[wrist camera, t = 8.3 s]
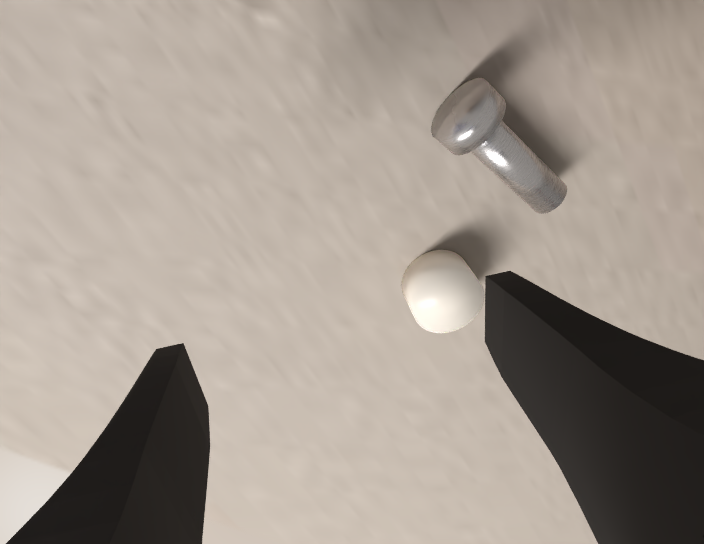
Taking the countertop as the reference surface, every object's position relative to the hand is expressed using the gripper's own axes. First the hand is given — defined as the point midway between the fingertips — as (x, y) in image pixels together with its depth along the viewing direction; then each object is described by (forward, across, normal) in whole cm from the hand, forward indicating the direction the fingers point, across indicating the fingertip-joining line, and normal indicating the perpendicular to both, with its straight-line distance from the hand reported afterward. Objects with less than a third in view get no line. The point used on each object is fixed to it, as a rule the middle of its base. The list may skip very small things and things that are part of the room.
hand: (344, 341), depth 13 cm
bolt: (+10, -8, +1) cm, 13 cm away
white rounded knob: (+10, -5, +6) cm, 13 cm away
